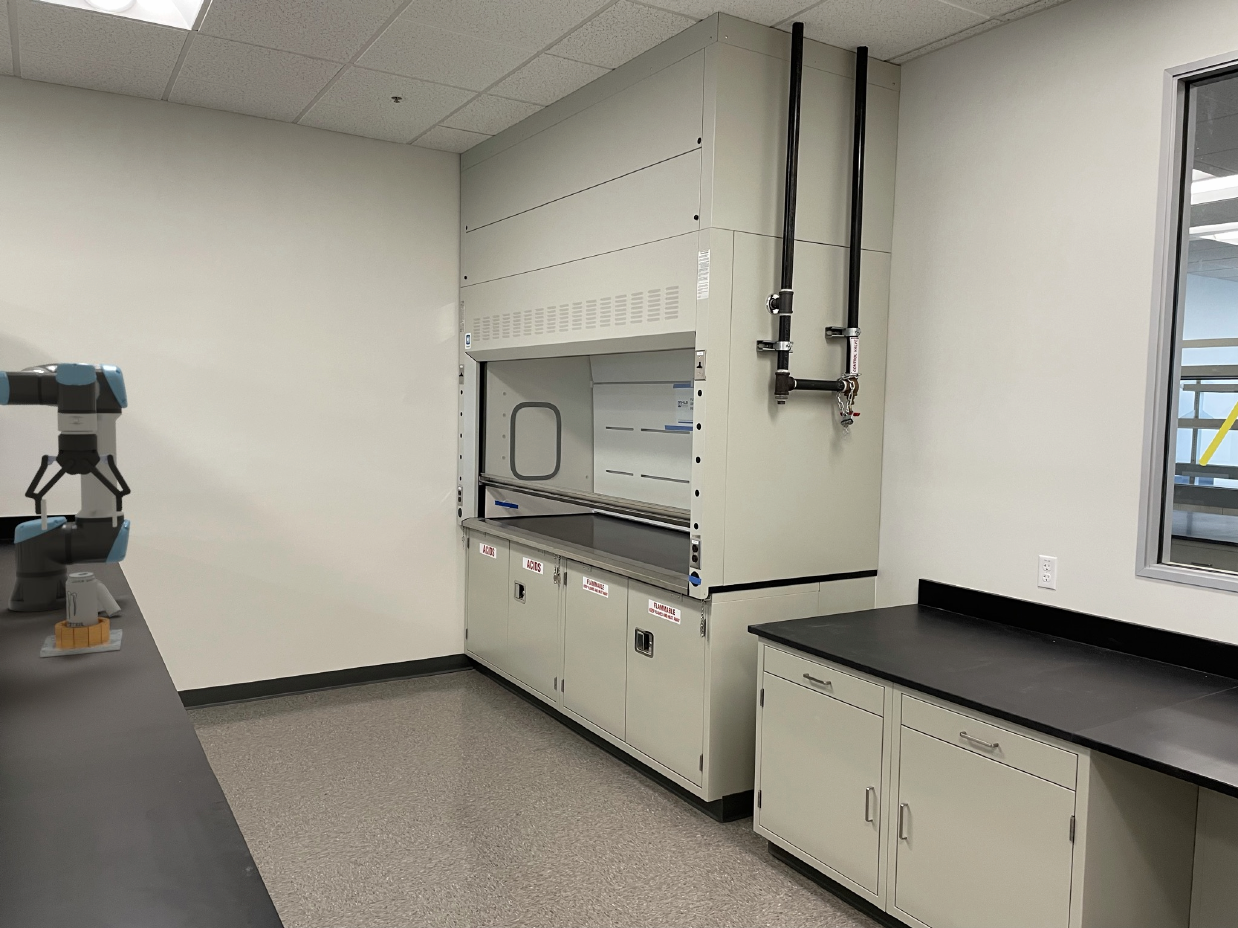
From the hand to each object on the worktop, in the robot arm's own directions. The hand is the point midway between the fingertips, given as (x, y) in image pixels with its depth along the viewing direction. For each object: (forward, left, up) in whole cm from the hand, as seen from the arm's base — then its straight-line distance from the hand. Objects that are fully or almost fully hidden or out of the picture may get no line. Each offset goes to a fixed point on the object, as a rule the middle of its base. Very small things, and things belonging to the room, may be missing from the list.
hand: (80, 527), depth 203 cm
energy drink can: (0, 0, -26) cm, 26 cm away
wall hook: (-31, +1, -27) cm, 41 cm away
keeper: (0, 0, -27) cm, 27 cm away
